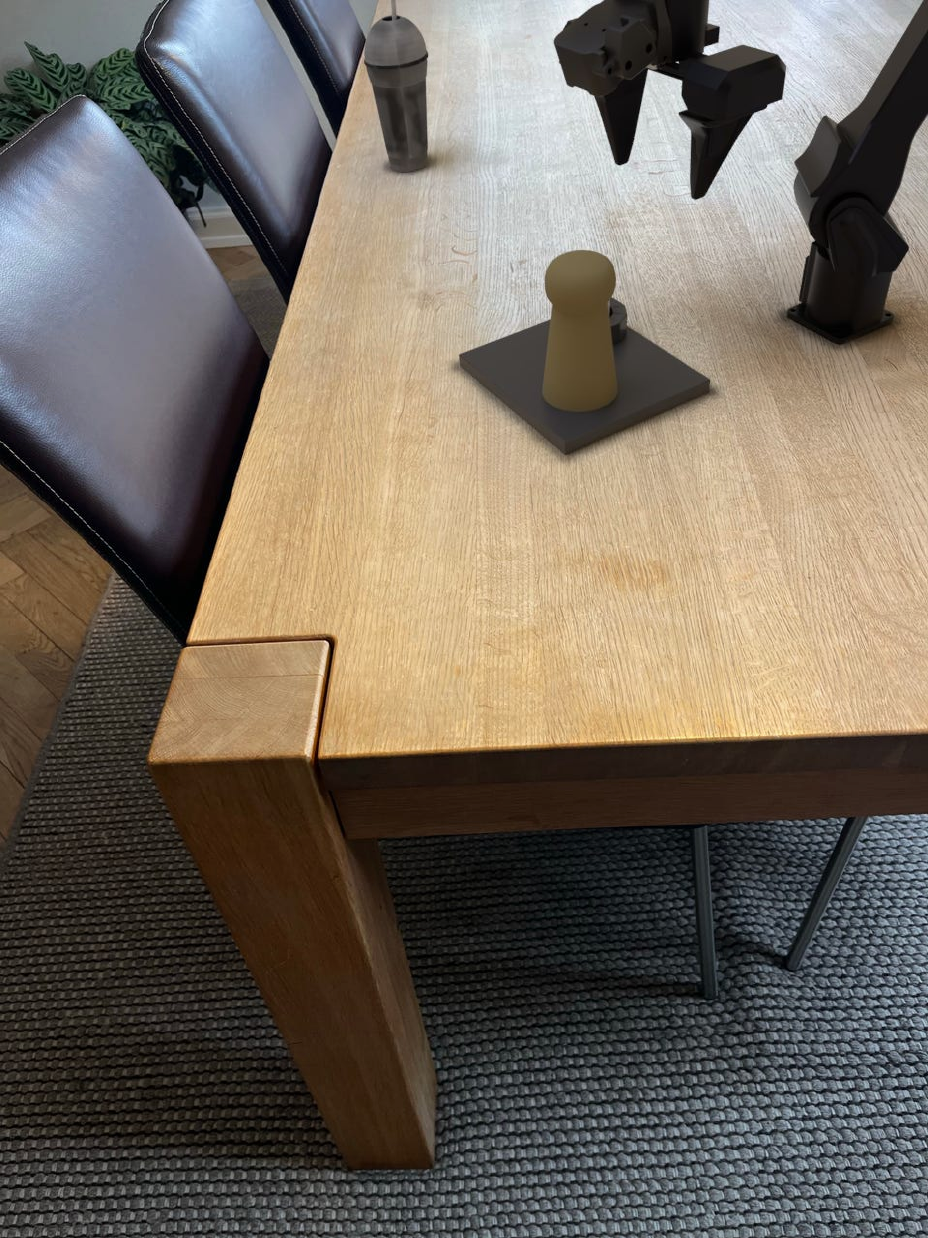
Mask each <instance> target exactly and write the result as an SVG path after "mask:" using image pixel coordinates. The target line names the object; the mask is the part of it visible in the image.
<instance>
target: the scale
mask: <svg viewBox="0 0 928 1238" xmlns="http://www.w3.org/2000/svg"><path fill="white" fill-rule="evenodd" d="M609 319H610V327H611V336H612V344H613V353H614V362H615V370H616V379H617V387H618V393H617V395H616V397H615V399H614V400H613V401H612V402H610V403H609V404H608V405H606V406H604V407H602V408H600V409H596V410H592V411H587V412H571V411H564V410H561V409H558V408H555V407H553V406H552V405H550V404H549V403H548V402H546V400H545V399H544V397H543V393H542V388H543V380H544V371H545V363H546V354H547V346H548V337H549V329H550V321H551V318H550V319H548V320H544V321H542V322H539V323H537V324H534V325H532V326H528V327H527V328H524V329H521V330H519V331H515V332H514V333H511V334H508V335H506V336H503V337H501V338H498V339H495V340H493V341H490V342H487V343H485V344H483V345H480V346H477V347H475V348H471V349H470V350H467V351H464V352H462V353H459V354H458V360H459V366H460V368H462V369H463V370H464V371H465V372H466V373H468V374H469V376H471V377H472V378H474V380H476V381H477V382H479V384H480V385H481V386H483V387H484V388H485V389H486V390H488V392H490V393H491V394H492V395H494V396H495V397H496V398H497V399H498V400H500V402H502V404H504V405H505V406H506V407H507V408H509V409H510V410H511V411H512V412H514V413H515V414H516V415H517V416H518V417H519V418H521V419H522V420H523V421H524V422H526V424H528V425H529V426H530V427H531V428H533V429H534V430H535V431H536V432H537V433H539V434H540V435H541V436H542V437H543V438H544V439H545V440H546V441H548V442H549V443H550V444H551V445H553V446H554V447H555V448H556V449H557V450H559V451H560V452H561V453H562V454H563V455H564V456H566V455H568V454H571V453H573V452H575V451H577V450H580V449H582V448H584V447H587V446H590V445H592V444H594V443H596V442H598V441H600V440H603V439H605V438H607V437H610V436H612V435H614V434H617V433H619V432H621V431H623V430H626V429H628V428H630V427H632V426H635V425H637V424H640V423H642V422H644V421H646V420H649V419H651V418H653V417H656V416H658V415H660V414H663V413H664V412H667V411H670V410H672V409H674V408H676V407H678V406H680V405H683V404H685V403H688V402H689V401H692V400H694V399H696V398H699V397H701V396H703V395H705V394H708V393H709V392H710V386H711V379H710V378H708V377H707V376H705V375H704V374H702V373H701V372H699V371H697V370H696V369H695V368H693V367H692V366H690V365H688V364H687V363H685V362H684V361H682V360H681V359H680V358H678V357H676V356H675V355H673V354H671V353H670V352H669V351H667V350H665V349H664V348H663V347H661V346H659V345H658V344H656V343H655V342H653V341H651V340H650V339H649V338H647V337H646V336H644V335H643V334H641V333H639V332H638V331H636V330H635V329H633V328H632V327H630V326H629V325H628V311H627V307H626V305H625V304H624V303H623V302H621V301H620V300H618V299H616V298H614V297H613V296H612V297H611V299H610V305H609Z"/></svg>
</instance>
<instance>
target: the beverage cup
mask: <svg viewBox="0 0 928 1238" xmlns="http://www.w3.org/2000/svg"><path fill="white" fill-rule="evenodd" d="M390 6H391V7H390V8H391V14H390V15H386V16H382V18H380V19H378V20H377V21H376V22H375V23H374V24H373V25H372V26H371V28H370V29H369V31H368V33H367V36H366V39H365V44H364V59H363V64H364V65H365V68H366V73H367V76H368V79H369V82H370V84H371V86H372V91H373V95H374V100H375V105H376V110H377V114H378V119H379V123H380V129H381V132H382V138H383V141H384V145H385V151H386V154H387V158H388V161H389V166H390V168H391V169H392V170H393V171H395V172H399V173H408V172H410V173H411V172H415V171H419V170H422V169H424V168H425V167H427V165H428V164H429V163H428V162H429V160H428V151H429V138H428V137H429V136H428V105H427V103H428V102H427V99H428V98H427V75H428V58H429V52H428V49H427V45H426V42H425V41H426V40H425V38H424V36H423V34H422V32H421V31H420V29H419V28H418V26H417V25H416V24H414V22H413V21H411V20H410V19H409V18H407V17H405V16H401V15H398V14H397V2H396V0H390Z"/></svg>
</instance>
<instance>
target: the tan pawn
mask: <svg viewBox="0 0 928 1238" xmlns="http://www.w3.org/2000/svg"><path fill="white" fill-rule="evenodd" d="M616 283H617V276H616V270H615V266H614V264H613V263H612V261H611V260H610V258H608V256H606V255H605V254H603V253H600V252H598V251H594V250H589V249H575V250H569V251H566V252H564V253H562V254H559V255H557V256H555V257H554V258H553V259H552V260H551V262H550V263H549V264H548V266H547V268H546V270H545V273H544V291H545V295H546V298H547V299H548V301H549V302H550V303H551V304H552V305H551V313H550V314H551V315H550V319H551V321H550V329H549V337H548V346H547V354H546V363H545V371H544V380H543V388H542V393H543V397H544V399H545V400H546V402H548V403H549V404H550V405H552V406H553V407H555V408H558V409H561V410H564V411H571V412H587V411H592V410H596V409H600V408H602V407H604V406H606V405H608V404H609V403H610V402H612V401H613V400H614V399H615V397H616V395H617V393H618V387H617V379H616V370H615V362H614V353H613V344H612V336H611V327H610V319H609V310H608V302H609V300H610V299H611V297H612V298H613V295H614V292H615V290H616V286H617V284H616Z"/></svg>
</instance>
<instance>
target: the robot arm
mask: <svg viewBox="0 0 928 1238" xmlns="http://www.w3.org/2000/svg"><path fill="white" fill-rule="evenodd" d="M709 9H710V0H601V1H600V2H598V3H596V4H594V5H593V6H591V7H590V8H588V9H587V10H586V11H584V12H583V13H582V14H581V15H580V16H578V17H576V18H573V19H569V20H567V21H566V23H565V25H564V27H563V29H562V30H561V31H560V32H559V33H558V34H556V35H555V37H554V38H553V46H554V48H555V53H556V55H557V58H558V64H559V65H560V69H561V71H562V74H563V77H564V80H565V83H566V86H568V87H569V88H571V89H572V88H575V87H576V88H579V89H581V90H583V91H586V92H587V93H588V94H589V95H591V96H593V98H594V100H595V103H596V105H597V108H598V112H599V114H600V117H601V120H602V124H603V127H604V131H605V134H606V137H607V141H608V145H609V147H610V151H611V155H612V157H613V158H612V159H613V161H614V164H615V165H617V166H623V165H625V164H628V162H629V160H630V158H631V153H632V150H633V146H634V142H635V138H636V133H637V129H638V128H637V127H638V124H639V118H640V113H641V107H642V102H643V99H644V91H645V89H646V88H645V87H646V82H647V77H648V74H649V73H648V72H649V71H651V72H654V73H657V74H661V75H663V76H666V77H669V78H672V79H675V80H678V81H681V93H680V94H681V95H680V96H681V98H682V100H683V103H684V105H685V107H686V109H684V110H682V111H679V112H678V116H679V118H680V119H681V120H682V122H683V123H684V124H685V125H686V126H687V127H688V129H689V131H690V161H689V162H690V163H689V165H690V166H689V188H690V197H691V199H693V200H695V201H696V200H700V199H702V198H704V197H706V195H707V193H708V191H709V189H710V188H711V186H712V184H713V183H714V180H715V179H716V177H717V176H718V173H719V172H720V170H721V167H722V166H723V164H724V162H725V161H726V159H727V157H728V156H729V153H730V152H731V150H732V148H733V146H734V145H735V143H736V141H737V140H738V138H739V137H740V135H741V134H742V132H743V131H744V129H745V128H746V126H747V125H748V123H749V121H750V120H751V119H752V117H753V116H754V114H756V113H759V112H762V111H765V110H766V109H767V108H768V106H769V105H770V104H773V103H777V102H780V101H782V100H783V98H784V97H783V96H784V91H785V83H786V75H787V65H786V63H785V62H784V61H783V59H782V58H781V57H780V55H779V54H777V53H773V52H770V51H768V50H763V49H761V48H757V47H754V46H750V45H746V44H739V45H737V46H733V47H731V48H728V49H724V50H721V51H718V52H715V53H712V54H706V53H704V52H705V48H706V47H709V46H712V45H716V44H719V43H720V32H721V26H720V25H716V24H712V23H708V22H709V11H710V10H709ZM927 117H928V0H922V2H921V3H920V5H919V7H918V8H917V10H916V11H915V13H914V15H913V16H912V18H911V20H910V22H909V23H908V25H907V26H906V28H905V30H904V32H903V33H902V35H901V37H900V38H899V40H898V42H897V44H896V45H895V46H894V48H893V49H892V52H891V54H890V55H889V56H888V58H887V59H886V62H885V64H884V65H883V66H882V68H881V70H880V72H878V75H877V76H876V78H875V80H874V82H873V83H872V85H871V87H870V88H869V89H868V91H867V93H866V95H865V97H864V98H863V100H862V101H861V102H860V103H859V104H858V106H857V107H856V108H855V109H853V110H852V111H851V112H850V113H849V114H847V115H846V116H845V117H844V118H843V119H841V120H840V121H838V122H836V121H835V120H834V119H833V118H832V117H830V116H828V115H823V116H822V117H821V119H820V121H818V124H817V126H816V129H815V131H814V134H813V136H812V137H811V141H810V143H809V145H808V146H807V147H806V149H805V150H804V152H803V153H802V154H801V155H799V157H797V158H796V159H795V160H794V162H793V164H794V166H795V168H796V170H797V173H796V175H795V178H794V180H793V187H792V189H793V195H794V199H795V203H796V205H797V207H798V210H799V212H800V215H801V216H802V218H803V222H804V223H805V225H806V227H807V230H808V232H809V234H810V236H811V238H813V241H811V244H810V249H809V254H808V255H807V256H806V257H805V259H804V260H805V261H804V266H803V273H802V277H801V283H800V288H799V295H798V301H799V302H800V303H798V304H796V305H793V306H791V307H789V308H787V309H786V314H785V315H786V316H787V317H788V318H790V319H792V320H793V321H794V322H797V323H799V324H800V325H802V326H804V327H806V328H808V329H809V330H811V331H812V332H813V331H814V332H816V333H817V334H819V335H820V336H823V337H824V338H826V339H828V340H830V341H832V342H833V343H835V344H844V343H847V342H849V341H851V340H854V339H856V338H858V337H860V336H862V335H864V334H867V333H869V332H871V331H874V330H876V329H879V328H881V327H884V326H886V325H887V324H890V323H892V322H893V321H894V319H895V314H894V313H893V312H891V311H889V310H887V309H885V306H886V302H887V299H888V294H889V290H890V286H891V281H892V278H893V273H894V272H896V271H897V269H898V268H899V266H900V265H901V263H902V262H903V260H904V259H905V257H906V255H907V254H908V253H909V250H910V246H909V244H908V243H907V241H906V238H905V237H904V236H903V234H902V232H901V231H900V229H899V227H898V226H897V224H896V222H895V221H894V219H893V217H892V215H891V214H890V212H889V211H890V209H891V206H892V204H893V202H894V200H895V198H896V196H897V194H898V192H899V190H900V189H901V185H902V182H903V177H904V174H905V170H906V167H907V163H908V158H909V155H910V151H911V148H912V144H913V140H914V139H915V136H916V134H917V132H918V131H919V130H920V128H921V126H922V125H923V123H924V122H925V121H926V119H927Z"/></svg>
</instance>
